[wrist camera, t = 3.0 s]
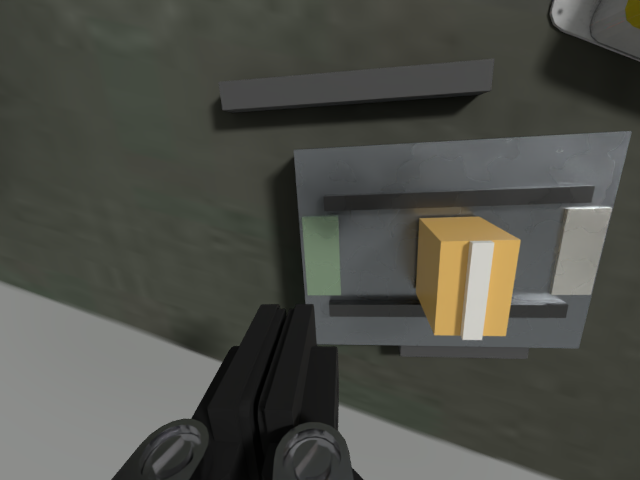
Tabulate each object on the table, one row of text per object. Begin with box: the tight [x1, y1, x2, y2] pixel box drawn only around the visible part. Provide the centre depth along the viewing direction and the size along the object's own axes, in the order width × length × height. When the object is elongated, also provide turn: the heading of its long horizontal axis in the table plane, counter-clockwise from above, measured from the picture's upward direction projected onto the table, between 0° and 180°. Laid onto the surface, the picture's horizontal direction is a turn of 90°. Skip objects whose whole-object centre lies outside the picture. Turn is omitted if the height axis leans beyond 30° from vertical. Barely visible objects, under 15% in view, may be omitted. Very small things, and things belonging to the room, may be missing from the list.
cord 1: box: [219, 59, 494, 113], centre depth 16 cm, size 14×1×1 cm, turn 93°
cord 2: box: [398, 345, 529, 359], centre depth 20 cm, size 8×1×1 cm, turn 93°
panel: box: [294, 131, 632, 348], centre depth 17 cm, size 16×12×3 cm
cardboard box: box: [416, 216, 521, 340], centre depth 14 cm, size 3×4×4 cm
